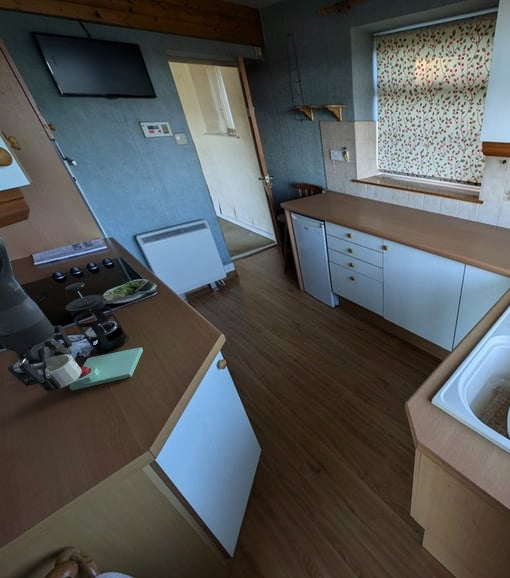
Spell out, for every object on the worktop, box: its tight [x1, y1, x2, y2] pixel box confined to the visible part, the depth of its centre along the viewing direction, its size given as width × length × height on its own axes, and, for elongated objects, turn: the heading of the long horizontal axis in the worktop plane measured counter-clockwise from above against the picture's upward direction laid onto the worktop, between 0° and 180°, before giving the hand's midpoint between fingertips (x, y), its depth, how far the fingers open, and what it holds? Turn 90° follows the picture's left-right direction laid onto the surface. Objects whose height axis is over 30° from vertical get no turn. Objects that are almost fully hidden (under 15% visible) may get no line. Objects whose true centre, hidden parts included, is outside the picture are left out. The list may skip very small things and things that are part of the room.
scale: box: [68, 347, 144, 391], centre depth 88 cm, size 15×12×3 cm
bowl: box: [35, 354, 82, 389], centre depth 67 cm, size 6×6×5 cm
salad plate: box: [102, 278, 158, 305], centre depth 122 cm, size 19×18×5 cm
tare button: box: [79, 365, 90, 378], centre depth 83 cm, size 3×3×2 cm
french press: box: [64, 282, 130, 354], centre depth 93 cm, size 12×9×23 cm
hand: (62, 377), depth 68 cm, fingers closed on bowl, 6 cm apart
